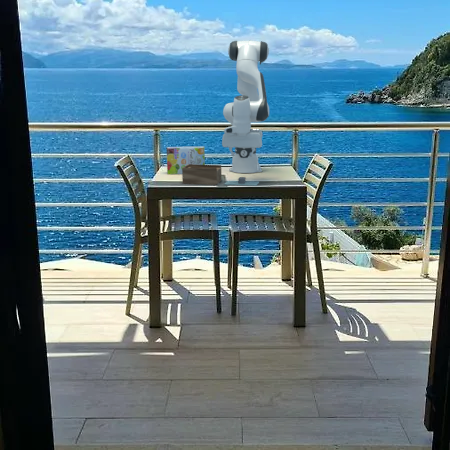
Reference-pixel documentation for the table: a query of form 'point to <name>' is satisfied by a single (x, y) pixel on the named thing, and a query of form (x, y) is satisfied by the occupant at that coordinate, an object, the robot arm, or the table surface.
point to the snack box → (183, 158)
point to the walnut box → (201, 174)
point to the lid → (242, 182)
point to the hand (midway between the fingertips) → (242, 156)
